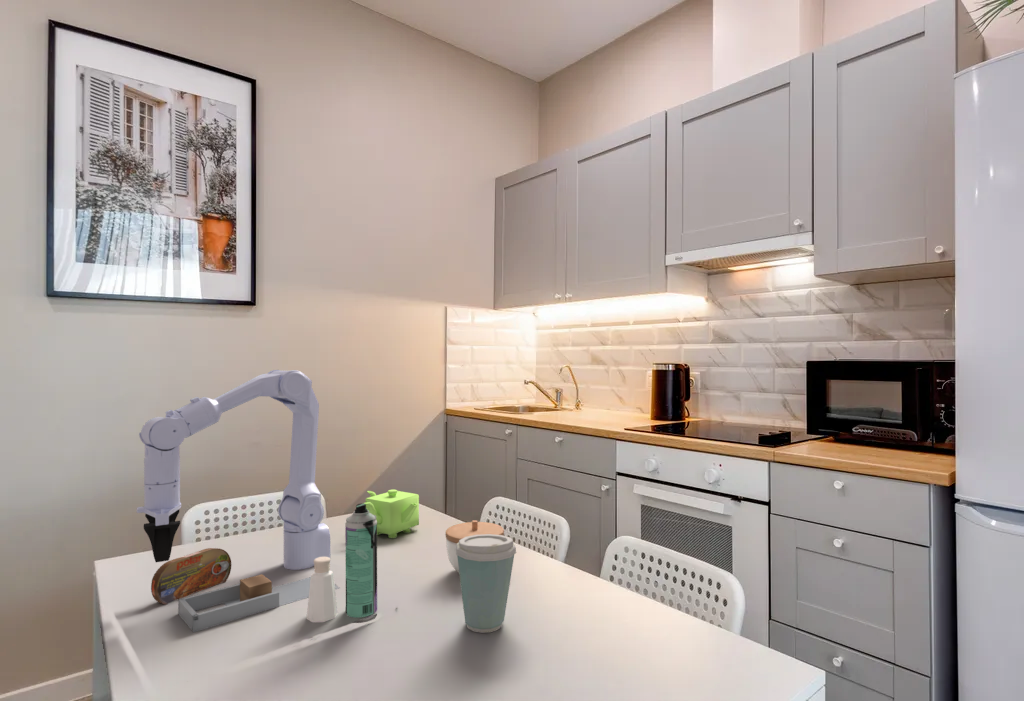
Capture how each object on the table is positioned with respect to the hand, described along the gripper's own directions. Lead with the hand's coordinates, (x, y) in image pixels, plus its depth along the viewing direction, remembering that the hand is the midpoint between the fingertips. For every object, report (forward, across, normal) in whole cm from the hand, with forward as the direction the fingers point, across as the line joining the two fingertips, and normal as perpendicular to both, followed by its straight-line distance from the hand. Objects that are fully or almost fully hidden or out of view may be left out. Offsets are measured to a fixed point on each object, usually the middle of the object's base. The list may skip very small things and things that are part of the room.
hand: (162, 554), depth 107 cm
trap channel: (+10, +9, +15) cm, 20 cm away
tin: (+10, -3, +5) cm, 12 cm away
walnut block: (+9, +9, +15) cm, 20 cm away
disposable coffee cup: (+10, +38, +48) cm, 62 cm away
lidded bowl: (+10, +15, +58) cm, 60 cm away
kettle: (+10, -22, +52) cm, 57 cm away
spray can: (+10, +23, +31) cm, 40 cm away
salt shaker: (+10, +21, +24) cm, 34 cm away
